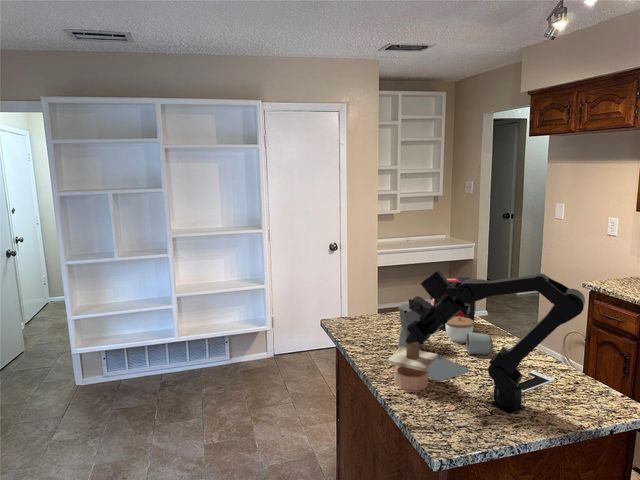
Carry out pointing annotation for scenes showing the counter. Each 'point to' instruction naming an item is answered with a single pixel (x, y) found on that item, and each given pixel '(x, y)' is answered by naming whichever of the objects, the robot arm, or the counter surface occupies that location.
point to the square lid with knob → (412, 357)
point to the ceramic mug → (478, 343)
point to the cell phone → (535, 381)
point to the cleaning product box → (472, 305)
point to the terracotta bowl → (410, 378)
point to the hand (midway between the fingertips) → (408, 340)
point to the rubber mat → (445, 369)
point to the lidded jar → (459, 328)
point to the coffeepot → (406, 322)
